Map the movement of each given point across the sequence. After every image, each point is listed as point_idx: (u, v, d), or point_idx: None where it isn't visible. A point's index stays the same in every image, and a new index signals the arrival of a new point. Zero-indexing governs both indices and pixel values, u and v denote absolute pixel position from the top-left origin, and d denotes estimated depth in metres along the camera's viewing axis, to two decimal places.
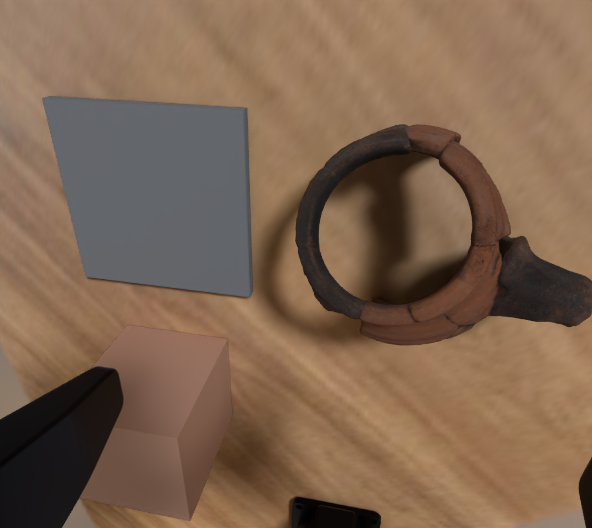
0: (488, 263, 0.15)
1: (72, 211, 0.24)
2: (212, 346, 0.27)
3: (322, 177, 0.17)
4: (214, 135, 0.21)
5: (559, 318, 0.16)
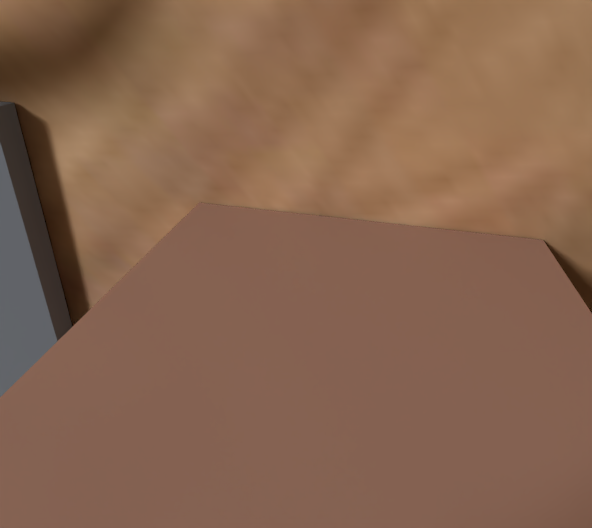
0: None
1: None
2: None
3: None
4: None
5: None
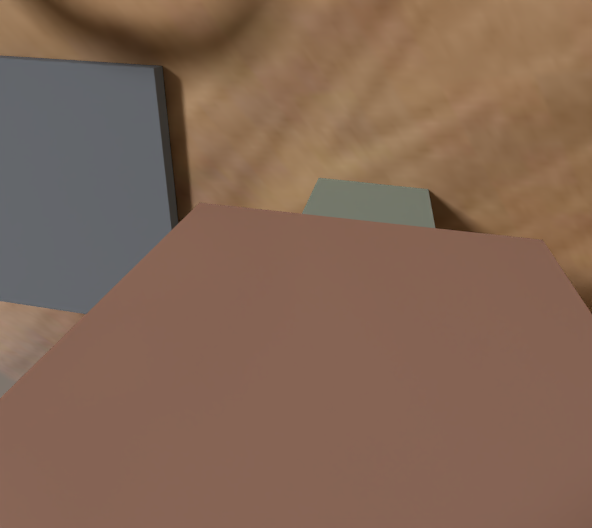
0: None
1: None
2: None
3: None
4: None
5: None
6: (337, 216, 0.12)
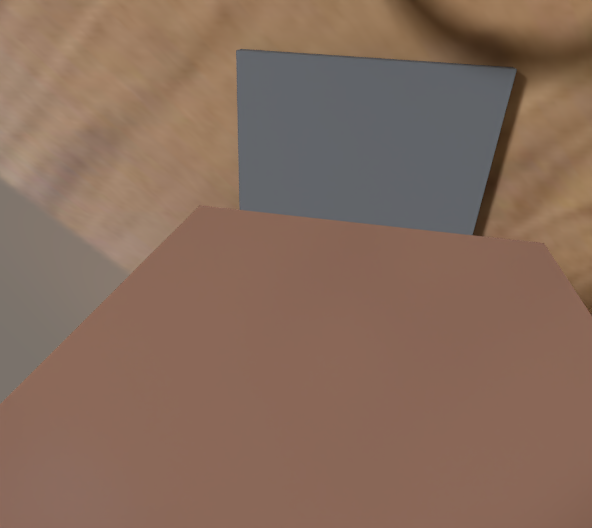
0: None
1: None
2: None
3: None
4: (267, 92, 0.17)
5: None
6: None
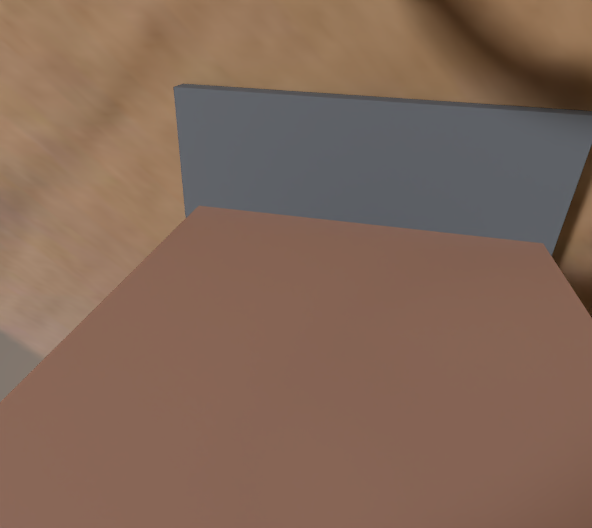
0: None
1: None
2: None
3: None
4: (222, 147, 0.12)
5: None
6: None
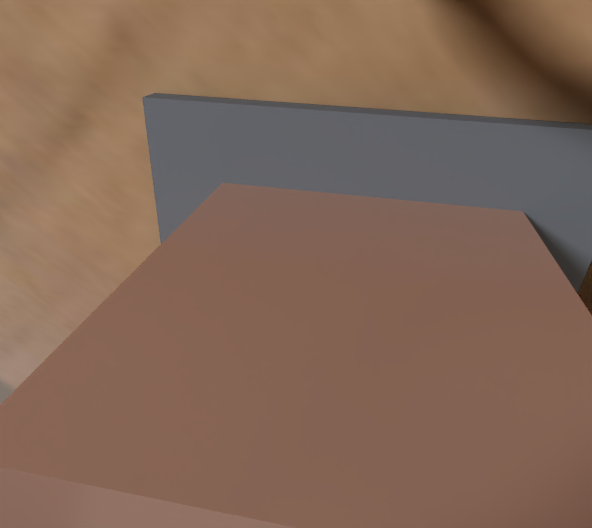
0: None
1: None
2: None
3: None
4: (199, 166, 0.10)
5: None
6: None
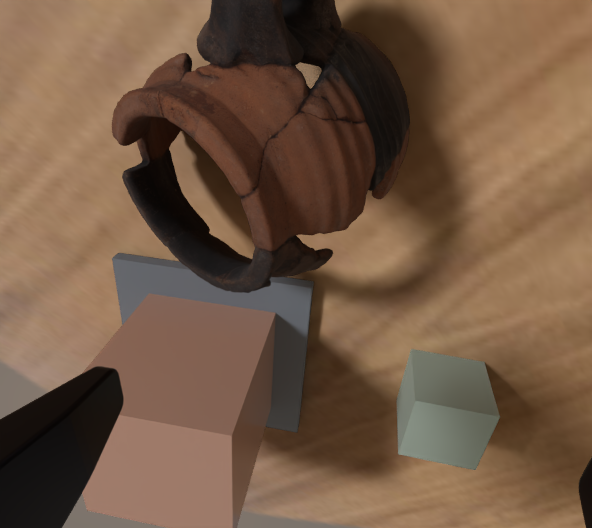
0: (175, 100, 0.12)
1: None
2: None
3: (173, 252, 0.17)
4: (138, 286, 0.23)
5: None
6: (436, 397, 0.20)
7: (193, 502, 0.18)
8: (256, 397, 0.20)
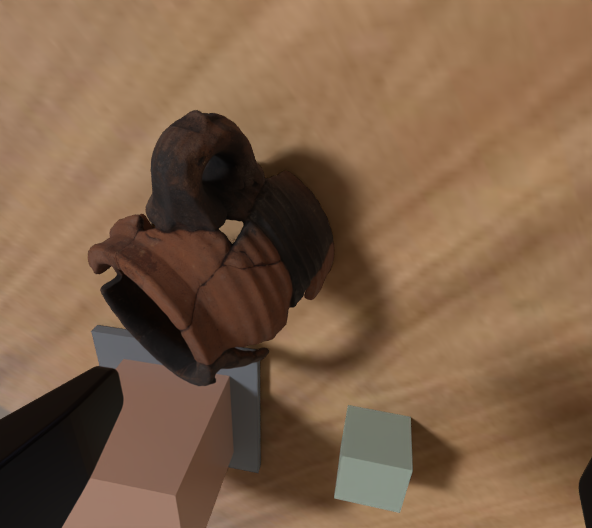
0: (127, 262, 0.16)
1: None
2: None
3: (144, 347, 0.21)
4: (114, 353, 0.27)
5: (181, 178, 0.15)
6: (361, 452, 0.23)
7: None
8: (208, 453, 0.24)
